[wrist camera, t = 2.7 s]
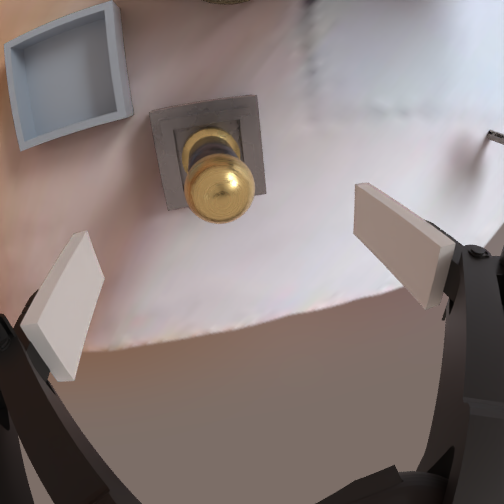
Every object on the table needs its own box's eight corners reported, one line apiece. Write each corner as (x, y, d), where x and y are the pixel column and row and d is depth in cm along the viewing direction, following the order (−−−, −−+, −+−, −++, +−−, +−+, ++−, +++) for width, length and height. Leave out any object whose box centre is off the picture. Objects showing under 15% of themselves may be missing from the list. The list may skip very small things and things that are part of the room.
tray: (19, 46, 21) (3, 44, 18) (120, 8, 22) (112, 0, 19) (35, 144, 27) (20, 151, 24) (134, 114, 28) (126, 117, 25)
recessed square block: (152, 110, 28) (147, 113, 25) (251, 94, 30) (259, 95, 26) (169, 200, 34) (167, 215, 30) (260, 185, 35) (268, 197, 31)
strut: (178, 131, 27) (168, 164, 16) (233, 122, 28) (264, 148, 17) (187, 183, 30) (185, 248, 19) (240, 174, 31) (271, 233, 19)
